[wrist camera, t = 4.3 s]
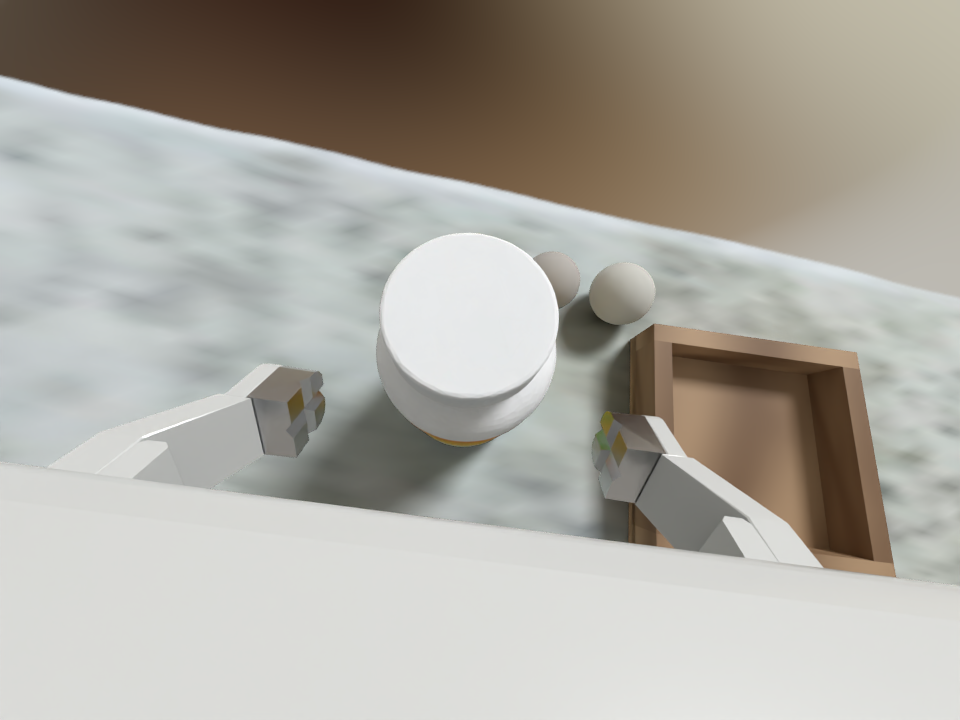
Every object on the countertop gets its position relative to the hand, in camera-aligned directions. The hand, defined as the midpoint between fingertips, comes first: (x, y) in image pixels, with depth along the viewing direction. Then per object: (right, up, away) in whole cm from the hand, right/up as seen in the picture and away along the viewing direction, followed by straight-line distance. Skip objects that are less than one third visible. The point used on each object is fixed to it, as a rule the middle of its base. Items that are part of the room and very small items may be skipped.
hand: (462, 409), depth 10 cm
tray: (+12, -3, +7) cm, 15 cm away
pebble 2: (+7, +4, +8) cm, 12 cm away
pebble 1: (+4, +5, +8) cm, 10 cm away
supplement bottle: (0, 0, +7) cm, 7 cm away
